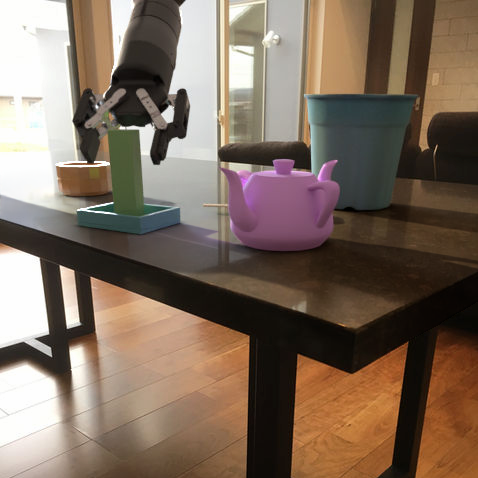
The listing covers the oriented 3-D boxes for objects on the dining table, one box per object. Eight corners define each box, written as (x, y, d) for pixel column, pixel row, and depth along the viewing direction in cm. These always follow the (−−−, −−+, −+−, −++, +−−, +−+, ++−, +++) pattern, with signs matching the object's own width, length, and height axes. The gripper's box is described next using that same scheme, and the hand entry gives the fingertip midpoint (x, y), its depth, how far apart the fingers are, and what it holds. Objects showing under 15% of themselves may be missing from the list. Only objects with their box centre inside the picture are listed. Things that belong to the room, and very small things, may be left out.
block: (114, 221, 66) (106, 130, 62) (123, 217, 69) (116, 129, 65) (137, 222, 65) (130, 130, 61) (145, 218, 68) (139, 129, 64)
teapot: (219, 253, 53) (218, 164, 50) (238, 226, 66) (238, 154, 63) (336, 257, 52) (342, 166, 49) (332, 229, 65) (337, 155, 61)
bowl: (48, 194, 91) (44, 164, 89) (85, 188, 98) (82, 160, 96) (86, 198, 87) (83, 167, 85) (122, 191, 94) (120, 163, 92)
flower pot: (418, 214, 74) (434, 92, 68) (303, 213, 75) (310, 91, 69) (390, 197, 89) (401, 95, 83) (295, 196, 90) (299, 95, 84)
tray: (77, 225, 66) (76, 209, 65) (121, 215, 73) (120, 200, 72) (140, 234, 62) (139, 217, 61) (180, 222, 68) (180, 207, 67)
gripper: (85, 38, 67) (52, 137, 61) (192, 37, 65) (170, 138, 58) (105, 85, 74) (78, 178, 67) (203, 85, 72) (184, 181, 65)
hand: (121, 159), depth 63 cm, fingers open, 8 cm apart
